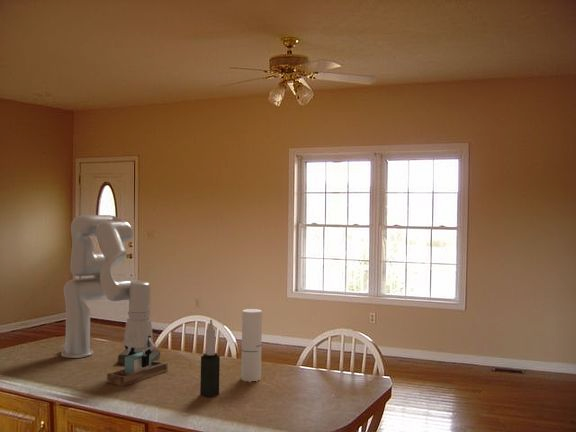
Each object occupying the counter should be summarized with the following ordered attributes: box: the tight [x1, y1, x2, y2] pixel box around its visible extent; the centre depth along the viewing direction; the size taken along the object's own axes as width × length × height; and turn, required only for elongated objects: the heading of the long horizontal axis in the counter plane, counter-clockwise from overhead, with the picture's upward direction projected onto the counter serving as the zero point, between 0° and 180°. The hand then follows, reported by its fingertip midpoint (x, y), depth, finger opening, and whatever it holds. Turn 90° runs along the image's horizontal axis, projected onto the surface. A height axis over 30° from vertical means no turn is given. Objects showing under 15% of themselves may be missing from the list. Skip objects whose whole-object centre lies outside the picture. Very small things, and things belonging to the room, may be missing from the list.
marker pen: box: [199, 319, 221, 398], centre depth 188 cm, size 5×5×25 cm
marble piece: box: [117, 348, 161, 366], centre depth 227 cm, size 17×15×4 cm
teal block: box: [124, 352, 152, 374], centre depth 207 cm, size 4×10×7 cm, turn 151°
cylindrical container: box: [240, 308, 263, 383], centre depth 206 cm, size 7×7×25 cm
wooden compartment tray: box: [106, 360, 169, 387], centre depth 207 cm, size 8×22×3 cm, turn 151°
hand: (138, 364), depth 207 cm, fingers open, 6 cm apart
